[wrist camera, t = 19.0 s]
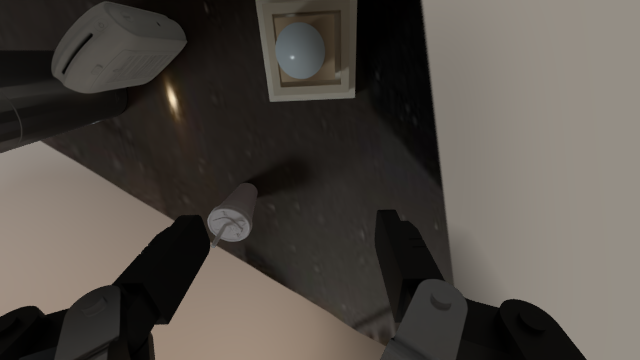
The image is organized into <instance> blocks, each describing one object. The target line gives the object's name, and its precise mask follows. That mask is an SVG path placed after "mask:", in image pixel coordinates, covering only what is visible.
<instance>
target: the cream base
mask: <svg viewBox="0 0 640 360" xmlns="http://www.w3.org/2000/svg"><path fill="white" fill-rule="evenodd" d="M255 1H256V7H257V14H258V21H259V28H260V35H261V42H262V49H263V56H264V63H265V70H266V77H267V83H268V90H269V97H270V102H275V101H297V100H318V99H340V98H355V69H356V27H357V0H255ZM333 14H334V47H335V80H316V81H295V82H282V79H281V71H280V65H279V63H278V61H277V58H276V52H275V47H276V41H277V37H276V28H275V19H274V18H282V17H299V16H316V15H333Z"/></svg>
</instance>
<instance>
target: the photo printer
mask: <svg viewBox="0 0 640 360" xmlns="http://www.w3.org/2000/svg"><path fill="white" fill-rule="evenodd" d="M186 43H187V40H186V36H185V33H184V31H183V29H182V28H181V27H180V25H179V24H178V23H177V22H175V21H173V20H171V19H168V18H167V16H165V15H162V14H159V13H155V12H151V11H146V10H142V9H138V8H134V7H130V6H126V5H121V4H117V3H113V2H108V1H105V2H102V3H99V4H98V5H95V6H94V7H92V8H91V9H89V10H88V11H87V12H86V13H84V14H83V15H82V16H81V17H80V18H79V19H78V20H77V21H76V22H75V23H74V24H73V25H72V27H71V28H70V29H69V30H68V31H67V33H66V34H65V35H64V37H63V38H62V40H61V41H60V43H59V45H58V46H57V48H56V50H55V53H54V55H53V58H52V64H51V71H52V74H53V76H54V77H55V78H57V79H58V80H60V81H61V82H62V83H63V85H64V86H65V87H67V88H69V89H72V90H74V91H77V92H81V93H97V92H102V91H107V90H113V89H119V88H124V87H130V86H136V85H142V84H145V83H147V82H149V81H151V80H152V79H153V78H155V77H156V76H157V75H158V74H159V73H160V72H161V71H162V70H163V69H164V68H165V67H166V66H167V65H168V64H169V63H170V62H171V61H172V60H173V59H174V58H175V57H176V56H177V55H178V54H179V53H180V51H181V50H182V49H183V48H184V46H185V45H186Z"/></svg>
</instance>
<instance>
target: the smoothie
mask: <svg viewBox="0 0 640 360" xmlns="http://www.w3.org/2000/svg"><path fill="white" fill-rule="evenodd" d="M257 194H258V191H257V189H256V187H255V186H254V185H252V184H250V183H242V184H240V185H239V186H238V187H237V188H236V189H235V190H234V191H233V192H232V194H231V195H230V196H229V197H228V198H227V199H226V200H225V201H224V202H223V203H222V204H221V205H220V206H218V207H216V208H215V209H213V210H212V212H211V214H210V215H209V217H208V226H209V228H210V230H211V231H212V233H213V234H215V235H216V238H215V240H214V241H213V243H212V245H211V247H213V248H215V246H216V245H217V243H218V241H219V239H220V238H221V239H223V240H227V241H240V240H242V239H244V238H246V237H247V236H248V235H249V233H250V231H251V229H252V216H253V212H254V207H255V203H256V199H257Z"/></svg>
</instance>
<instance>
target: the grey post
mask: <svg viewBox="0 0 640 360" xmlns="http://www.w3.org/2000/svg"><path fill="white" fill-rule="evenodd" d="M275 52H276V58H277V61H278V63H279V65H280V67H281V68H282V70H283V71H284V72H285V73H286V74H288V75H289V76H291V77H293V78H297V79H306V78H309V77H311V76H313V75H314V74H316V73H317V72H318V71H319V69H320V68H321V66H322V64H323V62H324V58H325V46H324V42H323V39H322V37H321V35H320V34H319V32H318V31H317V30H316V29H315V28H314V27H312V26H311V25H309V24H307V23H303V22H296V23H292V24H290V25H288V26H286V27H285V28H284V29H283V30H282V31H281V32H280V34H279V36H278V38H277V41H276V47H275Z"/></svg>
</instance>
